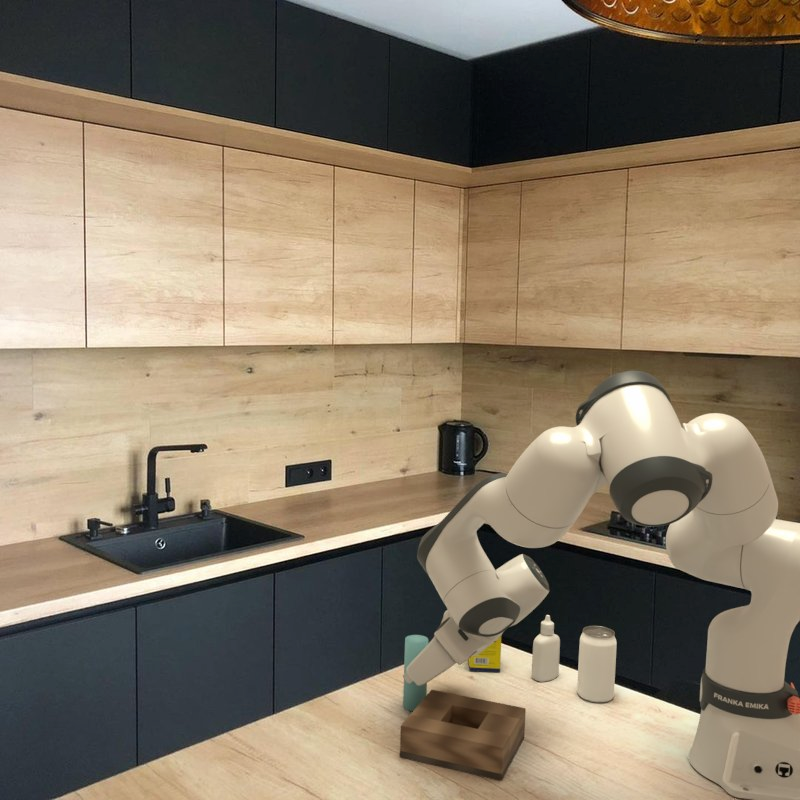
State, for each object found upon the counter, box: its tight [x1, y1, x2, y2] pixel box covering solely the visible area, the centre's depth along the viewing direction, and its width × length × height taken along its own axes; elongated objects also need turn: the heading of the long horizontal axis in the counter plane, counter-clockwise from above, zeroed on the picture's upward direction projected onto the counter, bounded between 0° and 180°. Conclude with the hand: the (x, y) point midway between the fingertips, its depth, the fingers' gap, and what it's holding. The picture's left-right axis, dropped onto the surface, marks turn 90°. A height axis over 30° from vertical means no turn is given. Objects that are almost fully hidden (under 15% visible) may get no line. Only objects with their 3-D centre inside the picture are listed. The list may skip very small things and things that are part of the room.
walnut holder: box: [399, 689, 527, 782], centre depth 134 cm, size 16×14×5 cm
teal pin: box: [402, 634, 429, 712], centre depth 147 cm, size 4×4×12 cm
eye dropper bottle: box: [531, 614, 561, 683], centre depth 161 cm, size 4×6×12 cm
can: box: [576, 625, 617, 704], centre depth 154 cm, size 6×6×12 cm
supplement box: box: [467, 635, 502, 673], centre depth 166 cm, size 6×6×11 cm
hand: (412, 672), depth 148 cm, fingers closed on teal pin, 4 cm apart
